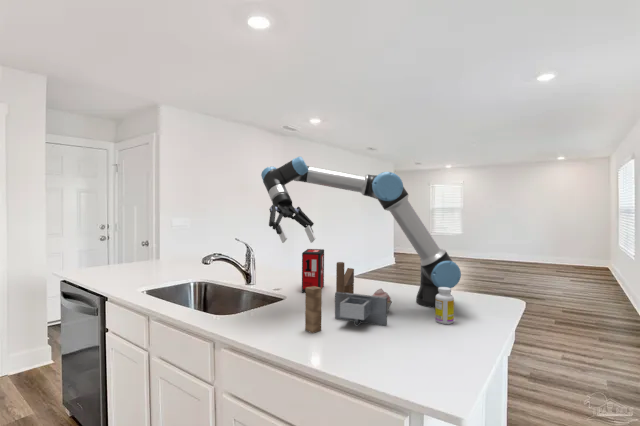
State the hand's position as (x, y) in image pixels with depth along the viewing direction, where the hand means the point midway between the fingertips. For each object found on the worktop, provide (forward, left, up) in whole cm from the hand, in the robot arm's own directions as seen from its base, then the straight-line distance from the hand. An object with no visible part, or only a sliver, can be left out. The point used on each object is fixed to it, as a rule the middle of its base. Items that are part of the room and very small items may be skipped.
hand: (299, 240), depth 137 cm
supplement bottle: (-50, -23, -31) cm, 63 cm away
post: (-9, +7, -31) cm, 33 cm away
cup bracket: (-21, -4, -30) cm, 37 cm away
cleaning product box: (+17, -48, -31) cm, 59 cm away
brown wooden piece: (-5, -35, -31) cm, 47 cm away
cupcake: (-25, -24, -31) cm, 47 cm away
